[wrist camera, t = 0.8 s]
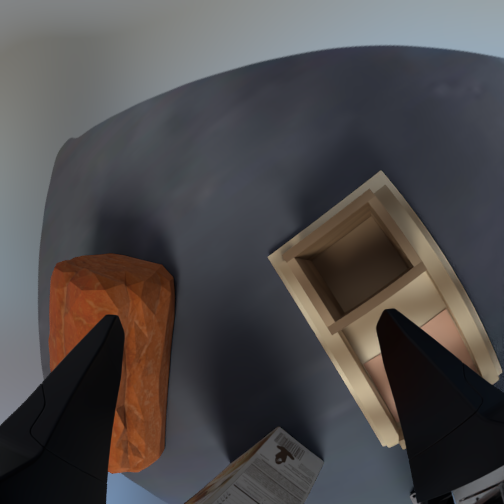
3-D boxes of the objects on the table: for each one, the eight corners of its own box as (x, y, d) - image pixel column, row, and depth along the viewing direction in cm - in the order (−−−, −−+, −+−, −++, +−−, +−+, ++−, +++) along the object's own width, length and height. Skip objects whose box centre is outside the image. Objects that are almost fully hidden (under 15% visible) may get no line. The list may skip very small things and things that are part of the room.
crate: (417, 270, 19) (427, 269, 14) (343, 322, 21) (332, 335, 16) (373, 206, 21) (369, 188, 16) (303, 259, 23) (281, 255, 18)
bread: (101, 413, 36) (48, 429, 26) (106, 249, 36) (40, 242, 26) (171, 465, 29) (114, 498, 19) (190, 271, 29) (105, 267, 20)
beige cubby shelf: (500, 369, 15) (512, 381, 12) (383, 443, 19) (381, 461, 16) (381, 172, 21) (380, 158, 18) (270, 257, 25) (255, 255, 22)
